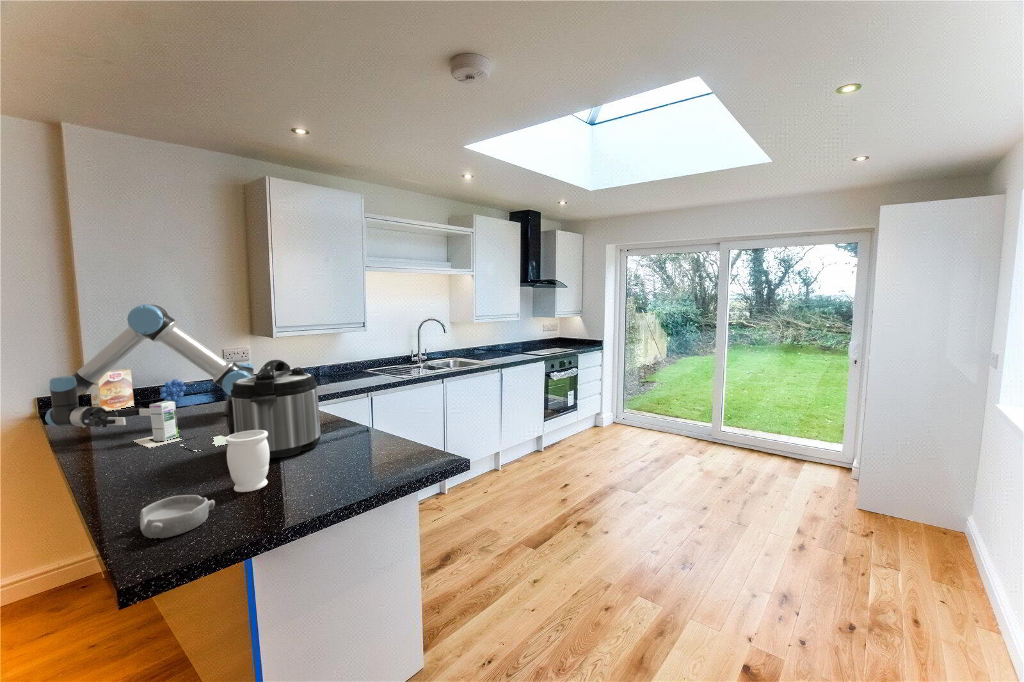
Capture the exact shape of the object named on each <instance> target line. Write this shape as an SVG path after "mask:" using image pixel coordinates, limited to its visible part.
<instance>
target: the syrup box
mask: <svg viewBox="0 0 1024 682" xmlns="http://www.w3.org/2000/svg"><path fill="white" fill-rule="evenodd" d="M176 407H177V406H176V401H175V402H174V401H165V400H163V401H159V402H156V403H150V404H149V409H150V414H151V416H150V422H151V430H152V436H153V442H160V441H167V440H168V441H169V440H170V439H171V440H173V438H175V439H177V438H176V437H178V438H180V436H179V434H178V431H179V427H178V419H177V410H176Z"/></svg>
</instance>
